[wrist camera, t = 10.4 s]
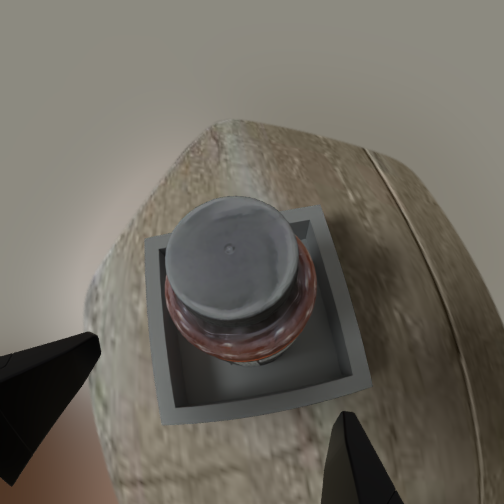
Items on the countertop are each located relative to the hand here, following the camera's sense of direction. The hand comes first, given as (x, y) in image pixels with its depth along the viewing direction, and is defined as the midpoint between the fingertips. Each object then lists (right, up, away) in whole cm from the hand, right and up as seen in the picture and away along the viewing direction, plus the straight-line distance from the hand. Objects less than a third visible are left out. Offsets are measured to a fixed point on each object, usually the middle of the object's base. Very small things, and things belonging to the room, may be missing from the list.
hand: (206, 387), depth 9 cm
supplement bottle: (+2, 0, +10) cm, 10 cm away
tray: (+1, 0, +11) cm, 11 cm away
